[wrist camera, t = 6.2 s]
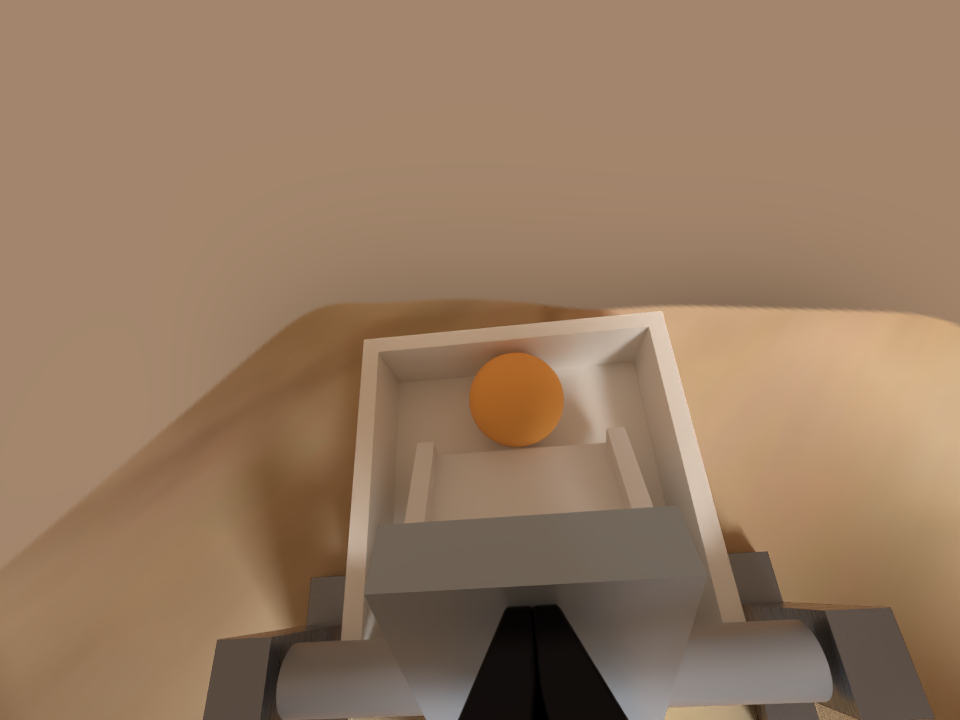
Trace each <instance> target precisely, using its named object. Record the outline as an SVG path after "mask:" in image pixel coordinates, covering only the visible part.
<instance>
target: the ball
mask: <svg viewBox="0 0 960 720" xmlns="http://www.w3.org/2000/svg"><path fill="white" fill-rule="evenodd" d="M469 404H470V410H471V414H472V417H473V419H474V421H475V423H476V425H477V426H478V428H479V429H480V430H481V431H482V432H483V433H484V434H485V435H486V436H487V437H488V438H490V439H491V440H493V441H494V442H496V443H499V444H501V445H505V446H509V447H524V446H529V445H533V444H535V443H537V442H539V441H541V440H543V439H544V438H545V437H547V436H548V435H549V434H550V433H551V432H552V431H553V430H554V428H555V427H556V425H557V424H558V422H559V420H560V417H561V415H562V411H563V406H564V394H563V389H562V385H561V383H560V380H559V378H558V376H557V375H556V373H555V372H554V371H553V369H552V368H551V367H550V366H549V365H548V364H547V363H545V362H544V361H543V360H541V359H539V358H537V357H535V356H533V355H530V354H526V353H519V352H516V353H506V354H503V355H500V356H497V357H495V358H493V359H492V360H490V361H488V362H487V363H486V364H485V365H484V366H483V367H482V368H481V369H480V370H479V371H478V373H477V374H476V376H475V378H474V380H473V382H472V385H471V389H470V395H469Z"/></svg>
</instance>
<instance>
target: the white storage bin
mask: <svg viewBox="0 0 960 720" xmlns="http://www.w3.org/2000/svg"><path fill="white" fill-rule="evenodd" d="M516 352H519V353H526V354H530V355H533V356H535V357H537V358H539V359H541V360H543V361H544V362H545V363H547V364H548V365H549V366H550V367H551V368H552V369H553V371H554V372H555V373H556V375H557V376H558V378H559V380H560V383H561V385H562V389H563V394H564V406H563V411H562V415H561V417H560V420H559V422H558V424H557V425H556V427H555V428H554V430H553V431H552V432H551V433H550V434H549V435H548V436H547V437H545V438H544V439H543V440H541V441H539V442H537V443H535V444H533V445H529V446H524V447H509V446H505V445H501V444H499V443H496V442H494V441H493V440H491V439H490V438H488V437H487V436H486V435H485V434H484V433H483V432H482V431H481V430H480V429H479V428H478V426H477V425H476V423H475V421H474V419H473V417H472V414H471V410H470V404H469V395H470V389H471V385H472V382H473V380H474V378H475V376H476V374H477V373H478V371H479V370H480V369H481V368H482V367H483V366H484V365H485V364H486V363H487V362H488V361H490V360H492V359H493V358H495V357H497V356H500V355H503V354H506V353H516ZM614 427H625V430H626V432H627V435H628V438H629V441H630V444H631V446H632V449H633V452H634V455H635V457H636V460H637V463H638V466H639V469H640V471H641V474H642V477H643V480H644V482H645V485H646V488H647V491H648V494H649V496H650V499H651V502H652V505H653V507H662V506H679V509H680V511H681V513H682V516H683V518H684V521H685V523H686V526H687V528H688V530H689V533H690V535H691V538H692V540H693V542H694V545H695V547H696V550H697V552H698V554H699V557H700V559H701V562H702V564H703V567H704V569H705V571H706V574H707V579H706V582H705V586H704V589H703V592H702V596H701V599H700V602H699V606H698V609H697V612H696V615H695V619H694V622H693V624H707V623H728V622H746V620H745V616H744V613H743V609H742V605H741V602H740V598H739V594H738V590H737V587H736V583H735V579H734V576H733V572H732V568H731V564H730V561H729V557H728V553H727V550H726V546H725V542H724V538H723V535H722V531H721V527H720V524H719V520H718V516H717V512H716V509H715V505H714V501H713V498H712V494H711V490H710V487H709V483H708V479H707V475H706V472H705V468H704V464H703V461H702V457H701V453H700V449H699V446H698V442H697V438H696V435H695V431H694V427H693V423H692V420H691V416H690V412H689V409H688V405H687V401H686V397H685V394H684V390H683V386H682V383H681V379H680V375H679V372H678V368H677V364H676V360H675V357H674V353H673V349H672V346H671V342H670V338H669V334H668V331H667V327H666V323H665V320H664V316H663V312H662V311H656V312H645V313H635V314H624V315H614V316H604V317H593V318H583V319H573V320H562V321H552V322H541V323H531V324H521V325H510V326H500V327H490V328H479V329H469V330H458V331H448V332H438V333H427V334H417V335H407V336H396V337H386V338H375V339H365V340H364V345H363V358H362V371H361V384H360V397H359V410H358V423H357V436H356V449H355V462H354V475H353V489H352V502H351V515H350V528H349V541H348V554H347V567H346V580H345V593H344V606H343V619H342V632H341V641H344V640H366V639H385V637H384V635H383V633H382V631H381V629H380V627H379V625H378V623H377V621H376V619H375V617H374V614H373V612H372V610H371V608H370V606H369V604H368V602H367V600H366V598H365V596H364V591H365V586H366V581H367V577H368V572H369V568H370V563H371V559H372V554H373V549H374V545H375V540H376V536H377V531H378V526H379V525H388V524H403V523H404V522H405V516H406V510H407V504H408V498H409V492H410V486H411V480H412V474H413V468H414V462H415V456H416V450H417V444H418V443H423V442H435V446H436V451H437V455H450V454H463V453H476V452H489V451H502V450H516V449H529V448H542V447H555V446H568V445H581V444H594V443H606V431H607V428H614Z"/></svg>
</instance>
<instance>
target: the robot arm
mask: <svg viewBox="0 0 960 720" xmlns="http://www.w3.org/2000/svg"><path fill="white" fill-rule="evenodd" d="M458 720H629V719H628V718H627V716H626V714H625V713H624V711H623V710H622V708H621V706H620V705H619V703H618V701H617V700H616V698H615V696H614V695H613V693H612V691H611V690H610V688H609V687H608V685H607V683H606V682H605V680H604V678H603V677H602V675H601V673H600V672H599V670H598V668H597V667H596V665H595V664H594V662H593V660H592V659H591V657H590V655H589V654H588V652H587V650H586V649H585V647H584V645H583V644H582V642H581V641H580V639H579V637H578V636H577V634H576V632H575V631H574V629H573V627H572V626H571V624H570V623H569V621H568V619H567V618H566V616H565V614H564V613H563V611H562V609H561V608H560V607H559V606H558V605H556V604H552V605H536V606H534V607H533V614H532V609H531V607H529V606H513V607H507V608H506V609H505V610H504V612H503V614H502V617H501V619H500V621H499V624H498V626H497V628H496V631H495V633H494V636H493V638H492V640H491V643H490V645H489V647H488V650H487V652H486V654H485V657H484V659H483V661H482V664H481V666H480V669H479V671H478V673H477V676H476V678H475V680H474V683H473V685H472V687H471V690H470V692H469V695H468V697H467V699H466V702H465V704H464V706H463V709H462V711H461V713H460V716H459V718H458Z"/></svg>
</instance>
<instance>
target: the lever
mask: <svg viewBox="0 0 960 720" xmlns="http://www.w3.org/2000/svg"><path fill="white" fill-rule="evenodd" d="M706 579H707V574H706V571H705V569H704V567H703V564H702V562H701V559H700V557H699V554H698V552H697V550H696V547H695V545H694V542H693V540H692V538H691V535H690V533H689V530H688V528H687V526H686V523H685V521H684V518H683V516H682V513H681V511H680V509H679V506H662V507H653V505H652V502H651V499H650V496H649V494H648V491H647V488H646V485H645V482H644V480H643V477H642V474H641V471H640V469H639V466H638V463H637V460H636V457H635V455H634V452H633V449H632V446H631V444H630V441H629V438H628V435H627V432H626V430H625V427H614V428H607V431H606V443H594V444H581V445H568V446H555V447H542V448H529V449H516V450H502V451H489V452H476V453H463V454H450V455H437V451H436V446H435V442H423V443H418V444H417V450H416V456H415V462H414V468H413V474H412V480H411V486H410V492H409V498H408V504H407V510H406V516H405V522H404V523H403V524H388V525H379V526H378V531H377V536H376V540H375V545H374V549H373V554H372V559H371V563H370V568H369V572H368V577H367V581H366V586H365V591H364V596H365V598H366V600H367V602H368V604H369V606H370V608H371V610H372V612H373V614H374V617H375V619H376V621H377V623H378V625H379V627H380V629H381V631H382V633H383V635H384V637H385V639H366V640H344V641H323V642H302V643H295V644H294V645H292V646H291V648H290V649H289V650H288V652H287V654H286V656H285V658H284V660H283V663H282V665H281V669H280V672H279V676H278V682H277V690H276V705H277V711H278V714H279V716H280V718H281V719H282V720H311V719H341V718H370V717H400V716H424V717H425V719H426V720H458V718H459V716H460V713H461V711H462V709H463V706H464V704H465V702H466V699H467V697H468V695H469V692H470V690H471V687H472V685H473V683H474V680H475V678H476V676H477V673H478V671H479V669H480V666H481V664H482V661H483V659H484V657H485V654H486V652H487V650H488V647H489V645H490V643H491V640H492V638H493V636H494V633H495V631H496V628H497V626H498V624H499V621H500V619H501V617H502V614H503V612H504V610H505V609H506V608H507V607H513V606H529V607H531V609H532V614H533V607H534V606H536V605H552V604H556V605H558V606H559V607H560V608H561V609H562V611H563V613H564V614H565V616H566V618H567V619H568V621H569V623H570V624H571V626H572V627H573V629H574V631H575V632H576V634H577V636H578V637H579V639H580V641H581V642H582V644H583V645H584V647H585V649H586V650H587V652H588V654H589V655H590V657H591V659H592V660H593V662H594V664H595V665H596V667H597V668H598V670H599V672H600V673H601V675H602V677H603V678H604V680H605V682H606V683H607V685H608V687H609V688H610V690H611V691H612V693H613V695H614V696H615V698H616V700H617V701H618V703H619V705H620V706H621V708H622V710H623V711H624V713H625V714H626V716H627V718H628V719H629V720H664V718H665V715H666V711H667V708H668V707H694V706H723V705H752V704H782V703H811V702H827V701H829V700H830V699H831V696H832V692H833V684H832V677H831V672H830V668H829V665H828V662H827V659H826V657H825V654H824V652H823V650H822V648H821V646H820V644H819V642H818V640H817V639H816V637H815V636H814V634H813V633H812V631H811V630H810V629H809V628H808V627H807V626H806V625H805V624H804V623H803V622H801V621H800V620H797V619H792V620H771V621H750V622H728V623H707V624H693V622H694V619H695V615H696V612H697V609H698V606H699V602H700V599H701V596H702V592H703V589H704V586H705V582H706Z"/></svg>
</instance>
